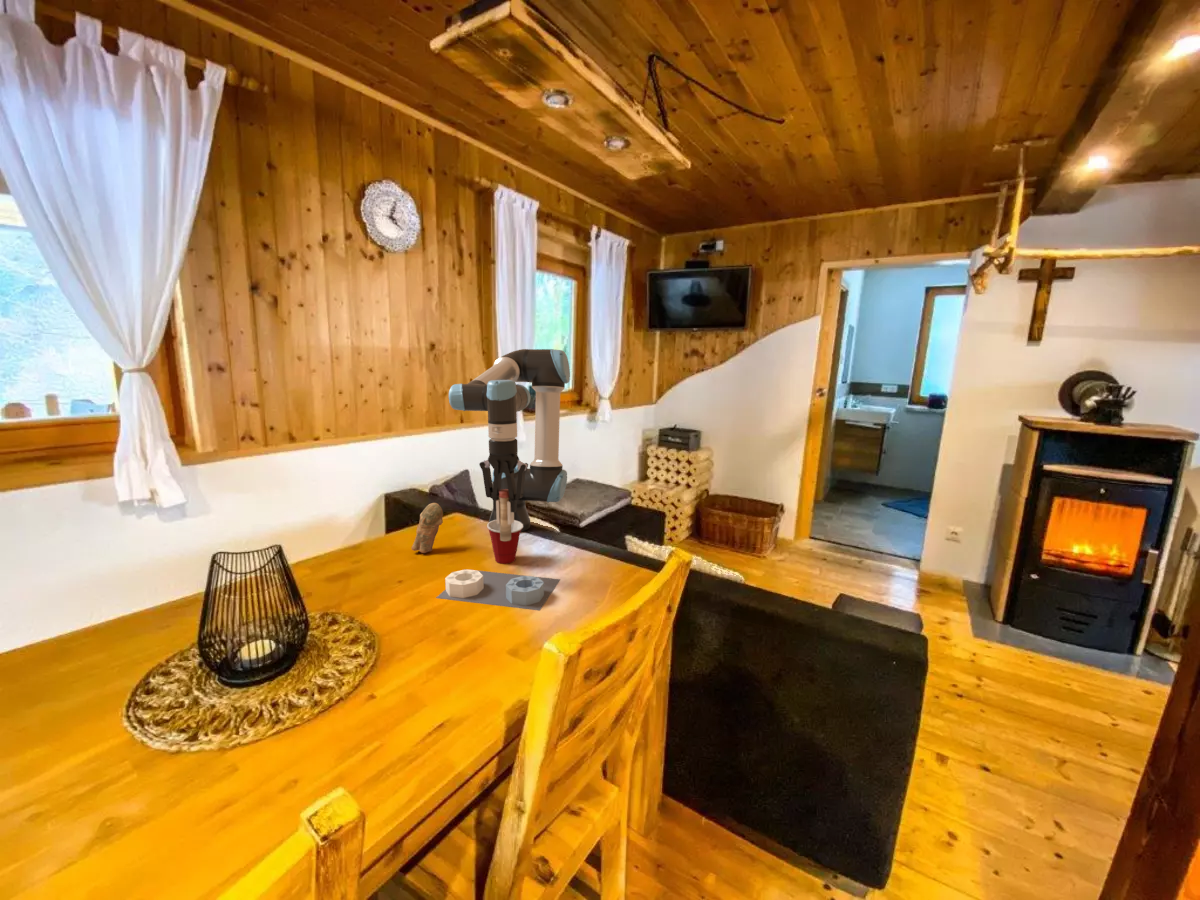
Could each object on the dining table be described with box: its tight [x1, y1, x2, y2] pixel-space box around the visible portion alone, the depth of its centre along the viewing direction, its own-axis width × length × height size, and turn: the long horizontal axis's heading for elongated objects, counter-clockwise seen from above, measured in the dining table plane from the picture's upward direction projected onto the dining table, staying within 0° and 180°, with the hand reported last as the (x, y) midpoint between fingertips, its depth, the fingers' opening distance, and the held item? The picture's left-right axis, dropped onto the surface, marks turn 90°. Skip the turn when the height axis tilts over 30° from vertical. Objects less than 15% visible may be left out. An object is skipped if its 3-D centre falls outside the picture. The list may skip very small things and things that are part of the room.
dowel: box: [499, 489, 511, 541], centre depth 136 cm, size 3×3×14 cm
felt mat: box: [435, 569, 561, 611], centre depth 133 cm, size 18×28×1 cm, turn 78°
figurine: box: [411, 502, 444, 554], centre depth 158 cm, size 8×8×15 cm
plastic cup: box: [486, 520, 523, 565], centre depth 151 cm, size 11×11×12 cm
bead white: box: [444, 568, 484, 598], centre depth 132 cm, size 9×9×4 cm
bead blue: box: [506, 575, 544, 606], centre depth 129 cm, size 9×9×4 cm
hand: (505, 522), depth 137 cm, fingers closed on dowel, 2 cm apart
